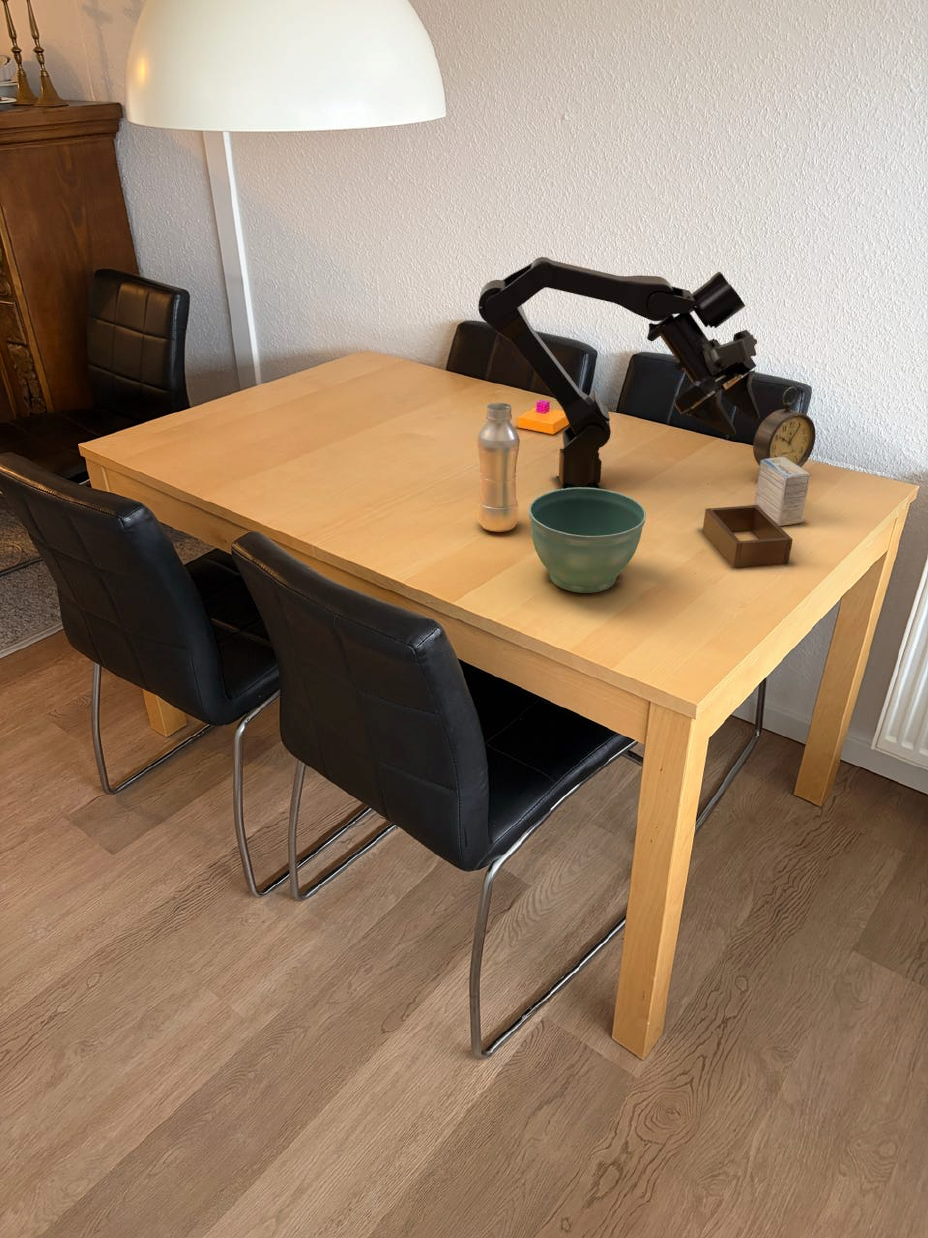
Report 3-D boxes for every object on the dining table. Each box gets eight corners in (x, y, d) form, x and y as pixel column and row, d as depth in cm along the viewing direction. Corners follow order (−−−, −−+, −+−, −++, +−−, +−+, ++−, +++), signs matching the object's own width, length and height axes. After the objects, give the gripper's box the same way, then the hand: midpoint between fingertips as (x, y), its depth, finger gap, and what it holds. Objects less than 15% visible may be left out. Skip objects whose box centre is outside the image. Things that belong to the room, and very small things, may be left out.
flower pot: (663, 586, 139) (670, 516, 134) (573, 618, 132) (577, 545, 126) (590, 544, 151) (595, 479, 145) (505, 571, 143) (506, 503, 138)
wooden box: (733, 567, 144) (736, 543, 142) (702, 531, 155) (705, 508, 153) (788, 563, 145) (792, 539, 143) (753, 527, 156) (757, 504, 154)
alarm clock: (763, 486, 170) (778, 395, 162) (742, 476, 174) (755, 387, 166) (810, 475, 174) (827, 386, 166) (789, 465, 178) (804, 377, 170)
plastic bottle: (506, 540, 152) (508, 416, 142) (469, 530, 155) (468, 408, 145) (526, 525, 157) (529, 404, 147) (489, 516, 160) (490, 396, 150)
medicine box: (802, 523, 157) (811, 473, 152) (777, 527, 156) (786, 476, 151) (776, 504, 163) (784, 455, 159) (752, 507, 162) (760, 458, 158)
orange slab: (571, 422, 198) (572, 402, 196) (552, 434, 193) (553, 413, 190) (536, 416, 202) (537, 396, 200) (517, 427, 196) (518, 406, 194)
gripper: (701, 328, 144) (761, 415, 144) (753, 304, 157) (808, 384, 157) (649, 371, 153) (705, 453, 152) (702, 345, 165) (754, 421, 165)
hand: (745, 427), depth 157 cm, fingers open, 9 cm apart
